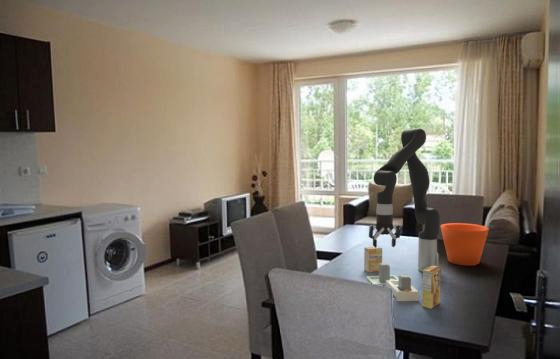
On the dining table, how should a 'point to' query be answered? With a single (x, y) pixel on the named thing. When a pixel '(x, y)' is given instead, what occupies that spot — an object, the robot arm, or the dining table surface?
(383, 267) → the plug
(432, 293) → the candy box
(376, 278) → the tray
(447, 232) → the flowerpot
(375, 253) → the supplement box
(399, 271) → the dining table surface
